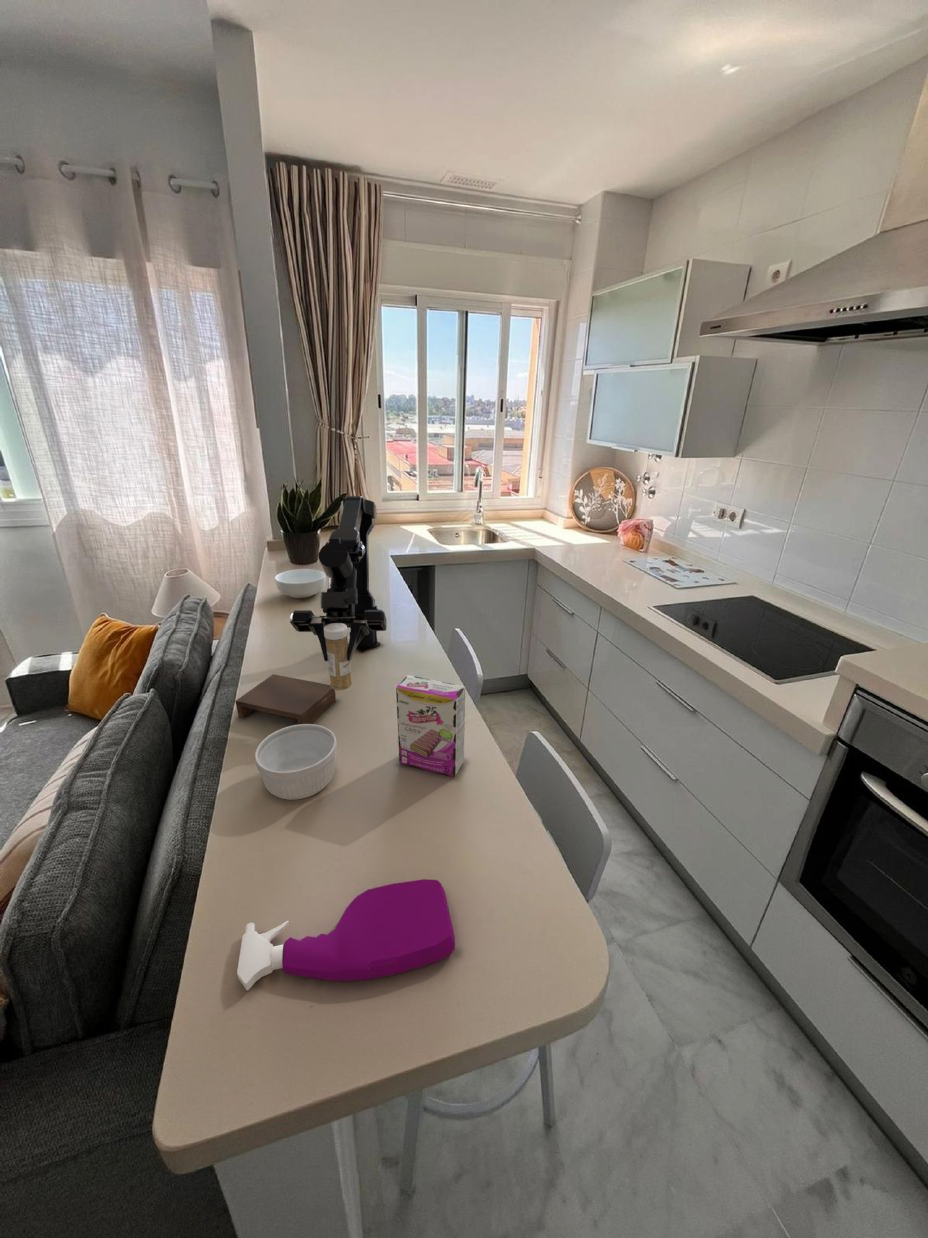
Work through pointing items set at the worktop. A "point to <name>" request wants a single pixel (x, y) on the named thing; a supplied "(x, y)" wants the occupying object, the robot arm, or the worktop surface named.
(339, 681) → the sprinkles bottle
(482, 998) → the worktop surface
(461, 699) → the candy bar box
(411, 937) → the spray bottle
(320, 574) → the cereal bowl
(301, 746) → the ramekin
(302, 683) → the shelf
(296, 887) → the worktop surface
